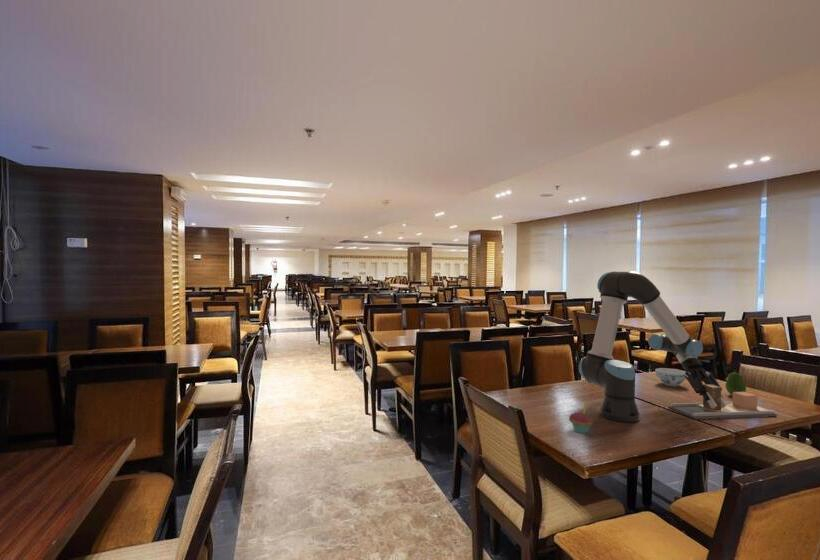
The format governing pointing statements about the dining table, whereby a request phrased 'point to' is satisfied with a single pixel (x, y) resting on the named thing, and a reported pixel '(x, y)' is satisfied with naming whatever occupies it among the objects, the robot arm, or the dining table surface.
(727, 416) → the board
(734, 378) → the green bumpy rounded piece
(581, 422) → the cupcake
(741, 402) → the block
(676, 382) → the chinaware
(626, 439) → the dining table surface
